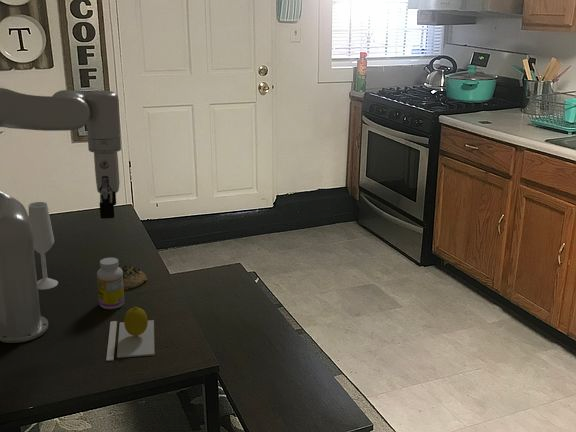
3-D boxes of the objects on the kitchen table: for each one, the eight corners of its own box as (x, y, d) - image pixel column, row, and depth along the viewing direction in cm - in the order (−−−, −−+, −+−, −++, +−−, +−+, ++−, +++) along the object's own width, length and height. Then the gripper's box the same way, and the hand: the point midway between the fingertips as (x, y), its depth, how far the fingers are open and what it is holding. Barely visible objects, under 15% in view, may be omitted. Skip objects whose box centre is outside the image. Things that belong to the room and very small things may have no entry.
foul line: (106, 361, 142) (106, 360, 142) (110, 322, 159) (110, 321, 159) (113, 360, 142) (113, 359, 142) (117, 322, 159) (117, 321, 159)
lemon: (142, 343, 149) (141, 313, 146) (121, 340, 150) (119, 310, 147) (151, 332, 154) (150, 303, 152) (130, 329, 155) (129, 300, 152)
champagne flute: (63, 283, 179) (56, 204, 171) (43, 291, 173) (34, 210, 165) (48, 277, 182) (40, 199, 174) (28, 285, 177) (19, 205, 169)
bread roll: (112, 272, 186) (113, 257, 185) (149, 277, 188) (151, 263, 186) (103, 290, 176) (105, 275, 174) (143, 296, 177) (145, 280, 176)
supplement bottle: (98, 300, 170) (95, 257, 165) (122, 297, 172) (120, 254, 168) (100, 311, 164) (97, 267, 160) (125, 308, 166) (123, 264, 162)
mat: (116, 357, 144) (116, 356, 143) (119, 323, 158) (119, 322, 158) (154, 355, 145) (154, 353, 145) (153, 321, 160) (153, 320, 160)
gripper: (119, 152, 141) (123, 222, 147) (122, 135, 157) (125, 200, 163) (84, 152, 140) (89, 224, 145) (91, 136, 156) (95, 201, 161)
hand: (108, 211), depth 154 cm, fingers open, 9 cm apart
